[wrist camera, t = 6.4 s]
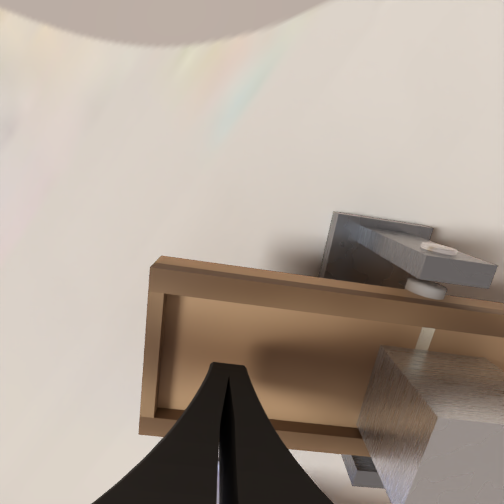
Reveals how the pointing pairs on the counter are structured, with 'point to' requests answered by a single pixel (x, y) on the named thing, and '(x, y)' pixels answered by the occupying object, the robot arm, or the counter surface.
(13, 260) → the counter surface
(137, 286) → the counter surface
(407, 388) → the block
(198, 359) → the wooden tray
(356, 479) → the stand
